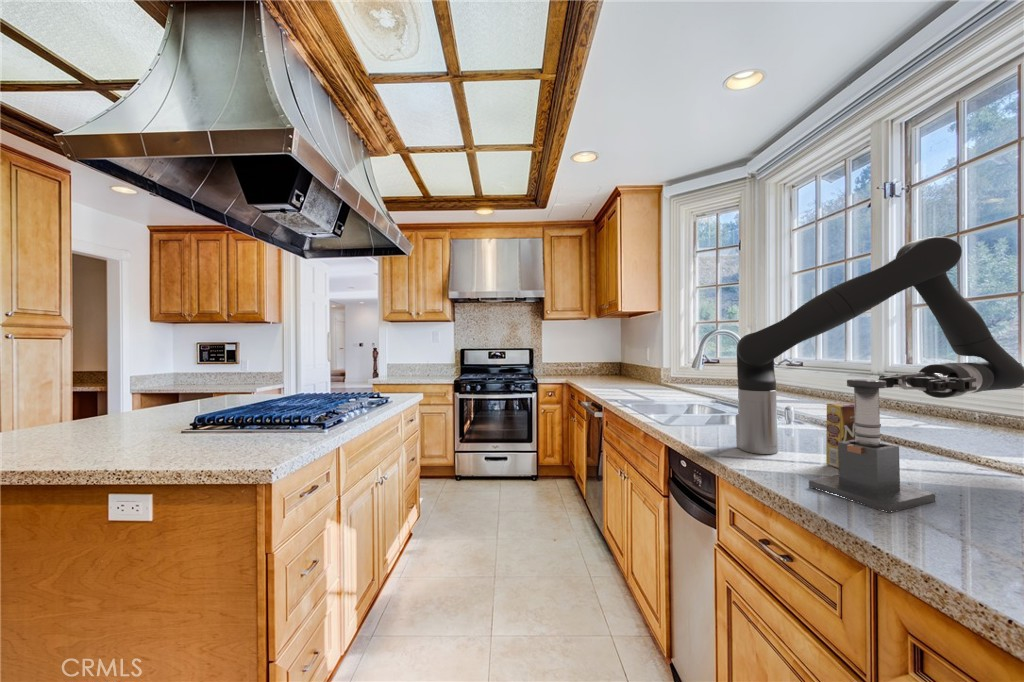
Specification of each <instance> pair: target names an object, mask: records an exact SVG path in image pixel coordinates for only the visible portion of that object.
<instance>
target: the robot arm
mask: <svg viewBox="0 0 1024 682" xmlns="http://www.w3.org/2000/svg"><path fill="white" fill-rule="evenodd" d="M962 251H963V249H962V246H961V244H960V243H959V242H958V241H956V240H955V239H953V238H951V237H945V236H929V237H925V238H920V239H916V240H913V241H909V242H908V243H905V244H904V245H903V246H902V247H900V249H899V250H898V251H897V253H896V256H895V258H894V259H893V260H891V261H889V262H888V263H885V264H884V265H882V266H881V267H879V268H876V269H874V270H871V271H868V272H867V273H864V274H861V275H859V276H856V277H853V278H851V279H848V280H845V281H843V282H842V283H839V284H837V285H835V286H832V287H831V288H829V289H827V290H826V291H823V292H822V293H820V294H817V295H816V296H815V297H813V298H811V299H810V300H807V302H805V303H803V304H802V305H801V306H799V307H798V308H797V309H795V310H794V311H793V312H792V313H790V314H789V315H788V316H785V318H783V319H781V320H780V321H777V322H776V323H773V324H771V325H769V326H767V327H764V328H762V329H760V330H757V331H756V332H751V333H748V334H745V335H744V336H742V337H741V338H740V339H739V341H738V342H737V344H736V370H737V371H736V373H737V374H736V375H737V388H738V389H737V390H738V396H737V398H738V413H737V414H735V433H736V435H735V437H736V443H735V444H736V448H738V449H740V450H741V451H744V452H747V453H752V454H758V455H759V454H760V455H774V454H777V453H778V452H779V451H778V450H779V449H778V446H779V445H778V415H777V414H778V412H777V409H778V408H777V407H778V406H777V405H778V404H777V381H776V375H775V359H776V358H778V357H780V355H782V354H783V353H785V352H788V351H789V350H791V348H794V347H795V346H797V345H798V344H800V343H802V342H805V341H806V340H810V339H812V338H814V337H816V336H817V337H818V336H819V335H821V334H824V333H827V332H828V331H830V330H833V329H835V328H837V327H839V326H842V325H844V324H845V323H847V322H848V321H851V320H853V319H855V318H857V317H858V316H860V315H862V314H865V312H868V311H870V310H871V309H872V308H874V307H876V306H878V305H880V304H882V303H884V301H887V300H888V299H890V298H892V297H894V296H896V295H897V294H899V293H900V292H903V291H905V290H906V289H909V288H911V287H913V288H914V289H915V290H916V292H918V295H920V297H921V298H922V299H923V301H924V302H925V304H926V305H927V307H928V308H929V310H930V312H931V313H932V315H933V316H934V318H935V320H936V322H937V323H938V325H939V327H940V329H941V330H942V332H943V335H944V336H945V338H946V340H947V342H948V343H949V346H950V348H951V350H952V351H953V353H955V354H956V355H958V356H960V357H962V356H963V357H977V358H981V359H982V361H974V362H973V361H972V362H944V363H933V364H929V365H926V366H924V367H922V368H921V369H920V370H919V371H918V372H913V373H895V374H881V375H879V376H878V379H877V380H882V381H886V388H885V389H892V388H898V389H900V390H906V391H907V390H909V391H910V390H912V391H914V390H915V391H920V392H921V391H922V393H923V394H924V393H925V395H927V396H929V397H932V398H935V399H936V398H937V399H946V398H953V397H961V396H966V395H969V394H975V393H980V392H984V391H985V392H987V391H999V390H1010V389H1011V390H1012V389H1013V390H1014V389H1018V388H1020V387H1022V386H1023V385H1024V367H1023V366H1022V365H1021V364H1020V363H1019V362H1018V360H1017V359H1015V358H1014V357H1013V356H1012V355H1011V354H1009V353H1008V352H1007V351H1006V350H1005V349H1004V348H1003V347H1002V346H1001V345H1000V344H999V343H998V342H997V341H996V340H995V338H994V337H993V334H992V333H991V331H990V330H989V327H988V326H987V324H986V322H985V321H984V319H983V318H982V316H981V315H980V313H979V312H978V311H977V309H975V308H974V307H973V305H971V304H970V303H969V301H968V300H967V299H966V298H965V297H964V296H963V295H962V294H961V293H960V292H959V291H958V290H957V289H956V287H955V286H954V284H953V283H952V281H951V280H950V278H949V276H948V273H947V272H949V271H950V270H952V269H953V268H954V267H955V266H957V264H958V263H959V261H960V260H961V258H962V253H963V252H962ZM983 360H984V361H983ZM907 385H908V386H907Z"/></svg>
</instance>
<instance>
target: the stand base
mask: <svg viewBox="0 0 1024 682" xmlns="http://www.w3.org/2000/svg"><path fill="white" fill-rule="evenodd" d="M838 465H839V468H838V474H836V475H829V476H824V477H819V478H814V479H809V480H808V487H809V486H810V487H813V488H817V489H820V490H823V491H827V492H829V493H833V494H837V495H839V496H842V497H845V498H847V499H850V500H853V501H855V502H854V503H856V502H859V503H862V504H865V505H868V506H871V507H870V508H872V507H874V508H873V509H875V508H877V509H876V510H878V509H880V510H879V511H881V510H884V511H887V512H891V511H895V512H897V511H896V510H899V511H902V510H901V509H903V510H905V509H906V508H907V509H910V508H914V507H918V506H919V507H920V506H922V505H926V504H930V503H934V502H936V493H935V492H933V491H932V492H931V491H928V490H923V489H920V488H916V487H912V486H908V485H905V484H901V477H900V470H901V469H900V468H901V467H900V466H901V465H900V446H899V445H898V446H897V445H893V444H889V443H883V442H880V448H869V447H865V446H860V445H855V440H849V441H843V442H838ZM810 487H809V488H810ZM813 488H812V489H813ZM847 499H846V500H847ZM850 500H849V501H850ZM853 501H852V502H853ZM859 503H858V504H859ZM862 504H861V505H862ZM865 505H864V506H865ZM868 506H867V507H868ZM907 509H906V510H907ZM884 511H883V512H884ZM887 512H886V513H887ZM891 513H892V512H891Z"/></svg>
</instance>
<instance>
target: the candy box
mask: <svg viewBox="0 0 1024 682" xmlns="http://www.w3.org/2000/svg"><path fill="white" fill-rule="evenodd" d="M854 421H855V409H854V402H848V403H847V402H845V403H843V402H842V403H826V438H825V439H826V441H825V442H826V450H825V451H826V454H825V455H826V457H825V458H826V459H825V460H826V461H825V463H826V465H828V466H830V467H834V468H837V469H839V465H838V442H843V441H849V440H855V435H854V431H855V425H854Z"/></svg>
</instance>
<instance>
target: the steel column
mask: <svg viewBox="0 0 1024 682" xmlns="http://www.w3.org/2000/svg"><path fill="white" fill-rule="evenodd" d="M846 386H847V387H849V388H853V400H854V401H853V403H854V409H855V421H854V425H855V431H854V435H855V445H860V446H865V447H869V448H880V443H881V438H882V434H881V428H882V423H881V417H880V413H881V412H880V410H881V409H880V389H887V388H886V381H882V380H878V379H863V378H862V379H860V378H858V379H856V378H855V379H854V378H852V379H846Z"/></svg>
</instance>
